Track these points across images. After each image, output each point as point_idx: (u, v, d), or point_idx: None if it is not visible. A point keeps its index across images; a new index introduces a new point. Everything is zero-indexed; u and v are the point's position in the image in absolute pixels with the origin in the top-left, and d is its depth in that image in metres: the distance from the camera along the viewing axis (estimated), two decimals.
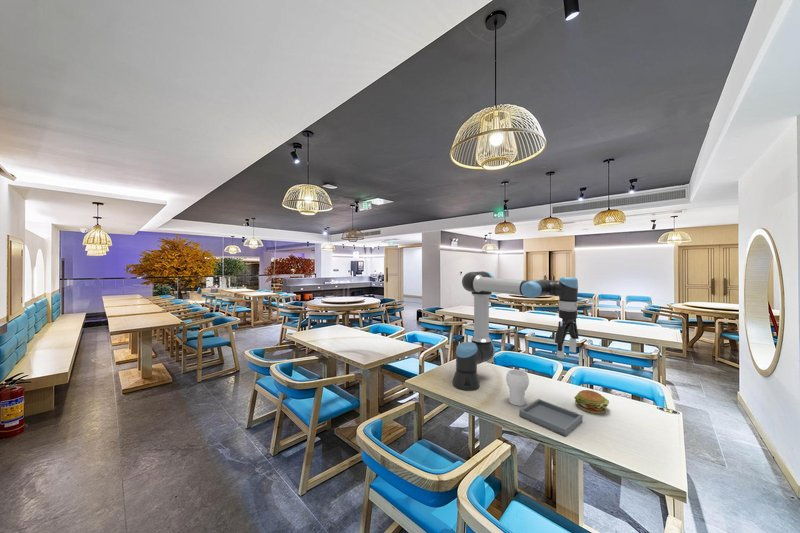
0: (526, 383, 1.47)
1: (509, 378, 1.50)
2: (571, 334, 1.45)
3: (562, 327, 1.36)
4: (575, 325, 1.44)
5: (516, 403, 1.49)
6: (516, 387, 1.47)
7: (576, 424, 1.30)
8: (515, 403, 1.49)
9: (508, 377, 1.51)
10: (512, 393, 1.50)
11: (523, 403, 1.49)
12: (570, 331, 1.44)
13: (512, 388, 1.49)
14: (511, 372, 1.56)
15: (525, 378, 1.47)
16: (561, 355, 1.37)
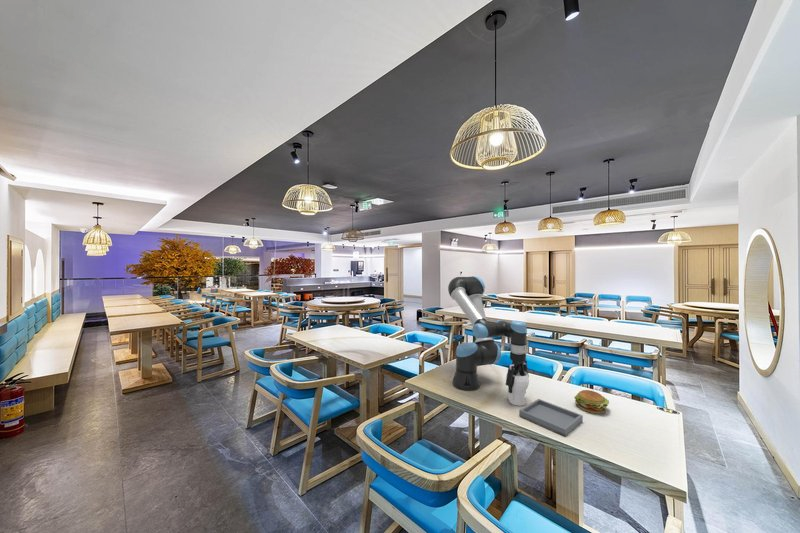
0: (526, 383, 1.47)
1: None
2: (521, 375, 1.55)
3: (511, 370, 1.47)
4: (525, 366, 1.54)
5: (516, 403, 1.49)
6: (516, 387, 1.47)
7: (576, 424, 1.30)
8: (515, 403, 1.49)
9: None
10: None
11: (523, 403, 1.49)
12: (520, 372, 1.54)
13: None
14: None
15: (525, 378, 1.47)
16: (511, 396, 1.48)
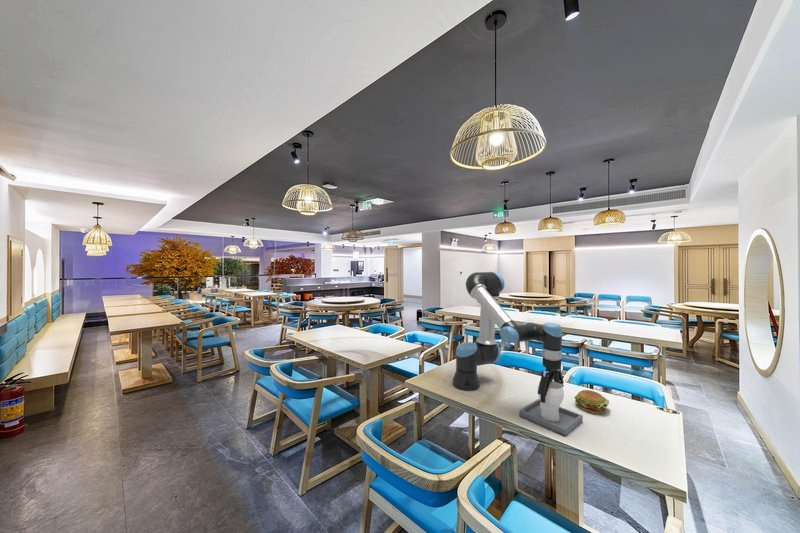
0: (561, 396, 1.31)
1: None
2: None
3: (545, 378, 1.31)
4: (560, 373, 1.39)
5: (550, 419, 1.33)
6: (550, 401, 1.31)
7: (576, 424, 1.30)
8: (549, 419, 1.33)
9: None
10: None
11: (557, 419, 1.33)
12: (555, 379, 1.39)
13: None
14: None
15: (560, 391, 1.31)
16: (544, 407, 1.31)
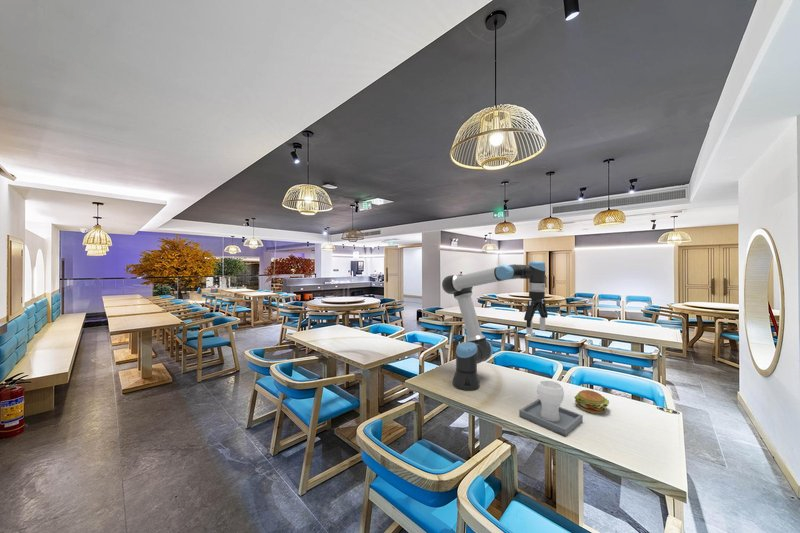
0: (561, 396, 1.31)
1: (542, 390, 1.34)
2: (541, 313, 1.60)
3: (530, 306, 1.51)
4: (544, 305, 1.59)
5: (550, 419, 1.33)
6: (550, 401, 1.31)
7: (576, 424, 1.30)
8: (549, 419, 1.33)
9: (540, 389, 1.34)
10: (545, 407, 1.34)
11: (557, 419, 1.33)
12: (539, 310, 1.59)
13: (545, 402, 1.33)
14: (542, 383, 1.40)
15: (560, 391, 1.31)
16: (530, 331, 1.51)
